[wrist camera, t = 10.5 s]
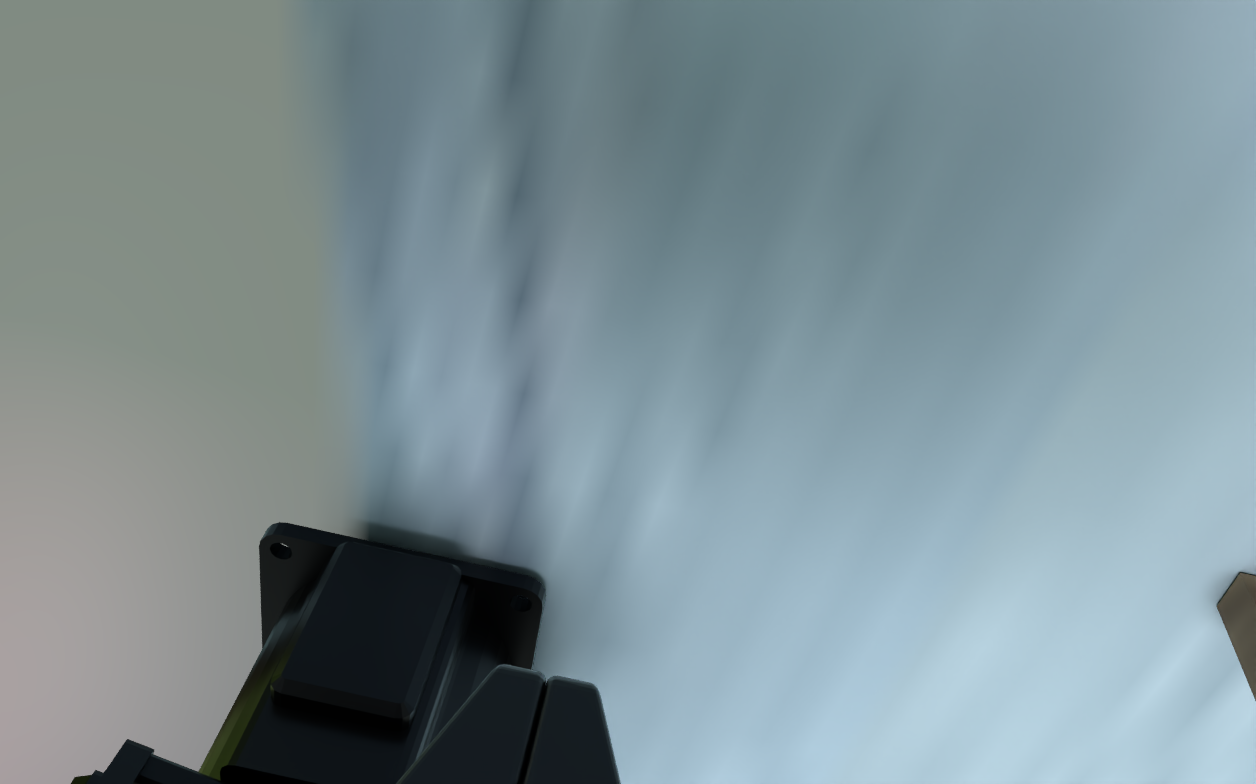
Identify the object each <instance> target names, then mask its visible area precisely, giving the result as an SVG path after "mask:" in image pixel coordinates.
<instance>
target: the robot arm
mask: <svg viewBox="0 0 1256 784" xmlns="http://www.w3.org/2000/svg"><path fill="white" fill-rule="evenodd" d="M281 543H283V544H285V545H287V546H288V547H286V546H284V545H282V544H281ZM259 554H260V583H261V616H262V648H263V649H262V651H261V653H260V655H259V657H258V659H257V660H256V663H255V664H254V666H253V668H252V670H251V672H250V674H249V676H248V678H247V680H246V682H245V684H244V685H243V687H242V689H241V691H240V693H239V695H238V697H237V699H236V701H235V703H234V705H233V706H232V708H231V710H230V712H229V714H228V716H227V718H226V720H225V722H224V724H223V726H222V728H221V730H220V732H219V733H218V735H217V737H216V739H215V741H214V743H213V745H212V747H211V749H210V751H209V753H208V754H207V756H206V758H205V760H204V762H203V764H202V766H201V768H200V770H199V772H197V771H194V770H192V769H189V768H187V767H184V766H181V765H179V764H176V763H174V762H171V761H169V760H166V759H163V758H161V757H158V756H156V755H153V752H154V749H152V748H149V747H147V746H144V745H141V744H139V743H136V742H134V741H131V740H129V739H127V740H126V742H125V743H124V745H123V746H122V748H121V749H120V750H119V752H118V753H117V755H116V756H115V758H114V759H113V761H112V762H111V764H110V765H109V766H108V768H107V769H106V770H105V772H104V773H102V772H100V771H97V770H95V772H94V773H93V774H92V775H88V776H80V777H75V778H74V779H73V781H72V783H71V784H621V783H620V778H619V774H618V770H617V765H616V761H615V757H614V752H613V748H612V744H611V739H610V735H609V731H608V726H607V722H606V717H605V713H604V709H603V704H602V700H601V696H600V693H599V691H598V689H597V687H596V686H595V685H593V684H592V683H588V682H584V681H579V680H575V679H570V678H566V677H561V676H553V677H551V678H550V679H549V680H548V681H547V683H546V679H545V676H544V675H543V674H542V673H540V672H538V671H534V670H532V668H533V663H534V657H535V652H536V647H537V641H538V636H539V631H540V625H541V620H542V614H543V609H544V604H545V598H546V590H545V588H544V586H543V585H542V583H540V582H539V581H538V580H536V579H535V578H532V577H530V576H527V575H522V574H518V573H513V572H509V571H504V570H500V569H495V568H490V567H486V566H481V565H477V564H472V563H468V562H463V561H458V560H454V559H449V558H445V557H440V556H436V555H431V554H427V553H422V552H417V551H413V550H408V549H404V548H399V547H395V546H390V545H385V544H381V543H376V542H372V541H367V540H363V539H358V538H353V537H349V536H344V535H340V534H335V533H331V532H326V531H321V530H317V529H312V528H308V527H303V526H299V525H294V524H290V523H280V522H279V523H276V524H273V525H271V526H270V527H269V528H268V529H267V531H266V533H265V534H264V536H263V538H262V539H261V541H260V545H259ZM518 596H524V597H526V598H528V599H522V598H520V597H518ZM545 685H546V686H545Z"/></svg>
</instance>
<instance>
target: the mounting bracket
mask: <svg viewBox="0 0 1256 784" xmlns="http://www.w3.org/2000/svg"><path fill="white" fill-rule="evenodd" d="M1217 608H1218V611H1219V613H1220V616H1221V618H1222V620H1223V623H1224V625H1225V628H1226V630H1227V633H1228V635H1229V637H1230V640H1231V642H1232V645H1233V647H1234V650H1235V652H1236V654H1237V657H1238V659H1239V662H1240V664H1241V666H1242V669H1243V671H1244V674H1245V676H1246V679H1247V681H1248V683H1249V686H1250V688H1251V691H1252V693H1253V695H1254V698H1255V700H1256V576H1253V575H1249V574H1244V573H1240V574H1239V575H1238V577H1237V578H1236V579H1235V581H1234V582H1233V584H1232V585H1231V587H1230V588H1229V589H1228V591H1227V592H1226V594H1225V595H1224V597H1223V598H1222V599H1221V601H1220V602H1219V604H1218V605H1217Z"/></svg>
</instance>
